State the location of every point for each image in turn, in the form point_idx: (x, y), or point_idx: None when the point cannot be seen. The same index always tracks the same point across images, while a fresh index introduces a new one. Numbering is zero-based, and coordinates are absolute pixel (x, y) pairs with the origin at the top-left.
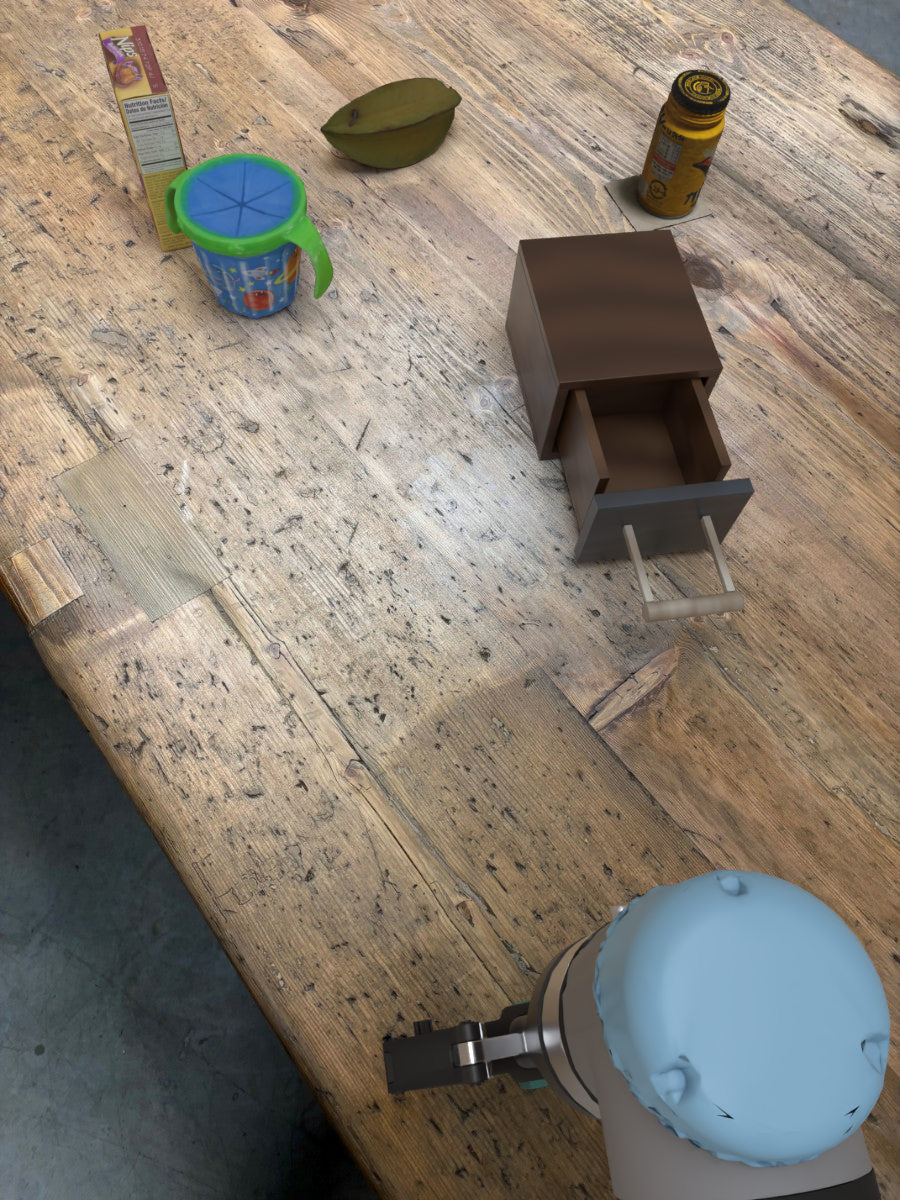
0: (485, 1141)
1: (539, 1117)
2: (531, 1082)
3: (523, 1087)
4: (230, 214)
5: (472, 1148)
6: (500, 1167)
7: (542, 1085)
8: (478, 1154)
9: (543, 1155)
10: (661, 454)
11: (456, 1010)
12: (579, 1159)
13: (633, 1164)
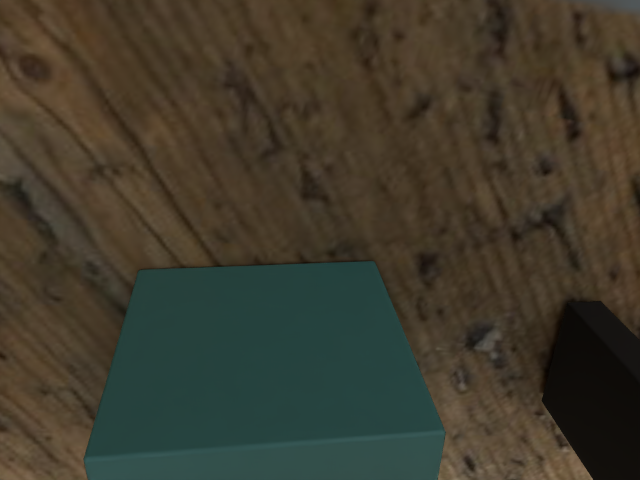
0: (521, 140)
1: (335, 177)
2: (434, 449)
3: (394, 309)
4: None
5: (566, 128)
6: (502, 59)
7: (394, 443)
8: (555, 108)
9: (350, 67)
10: None
11: (484, 430)
12: (223, 30)
13: None
